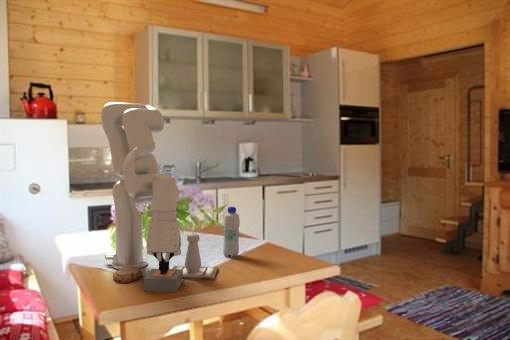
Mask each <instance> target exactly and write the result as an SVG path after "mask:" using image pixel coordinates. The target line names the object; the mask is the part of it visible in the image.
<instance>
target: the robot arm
mask: <svg viewBox="0 0 510 340" xmlns="http://www.w3.org/2000/svg"><path fill="white" fill-rule="evenodd" d="M100 115H101V116H100V119H101V125H102V129H103V131H104V133H105V135H106V138H107V140H108V144H109V150H110V157H111V162H112V163H111V165H112V169H113V172H114V174H115V175H116V176H118V177H122V179H121V180H118V181H117V182H115V183H114V185H113V187H112V198H113V199H112V200H113V203H114V204H113V205H114V214H115V252H114V253H112V252H109V253H108V252H106V253H105V254H104V258H105V261H106V260H108V261H109V260H110V261H111V260H112V262H111V264H110V265H111V268H114V269H116V270H120V269H123V268H124V269H125V268H130V267H132V268H137V269H140V268H143V267H146V266H147V265H148V261H147V259H146V258H144V253H143V252H144V251H143V250H144V246H143V245H144V241H143V239H144V238H143V237H144V235H143V233H144V232H143V230H144V228H143V222H144V221H143V215H142V213H141V212H140V210H139V208H137V206H139V205H142V206H143V205H151V210H150V211H147V213H146V215H147V217H150V218H151V219H149V221H148V224H147V230H146V231H147V232H146V233H147V234H146V244H145V245H146V254H147V255H149V256H153V257H154V258H155V259H156V260H157V261H158V269H159V271H160V274H166V273H167V272H168V271H169V269H170V260H171V259H172V258H173V257H178V256H181V255H182V250H181V247H182V246H181V244H182V239H181V238H182V237H181V227H180V223H179V219H178V218H177V179H176V178H175V177H173V176H169V175H167V174H164V173H159V168H158V163H157V159H156V157H155V155H154V154H153V152H154V151H155V148H156V143H155V140H154V136H153V133H154V134H158V133H161V132H163V130H164V128H165V119H164V116H163V114H162V112H161V111H160V110H158V109H157V108H155V107H153V106H152V105H149V104H146V103H145V104H143V103H132V102H108V103H106V104H105V105H103V107H102V109H101V113H100ZM164 254H165V257H164Z"/></svg>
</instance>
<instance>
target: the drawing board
mask: <svg viewBox="0 0 510 340" xmlns="http://www.w3.org/2000/svg"><path fill="white" fill-rule="evenodd" d="M171 269H183V280H196V281H197V280H199V281H215V278H216V275H217V273H218V271H219V266H201V267H200V269H199V271H198V272H197V273H188V272H187V270H186V267H185V265H174V266H173V267H172V268H171Z"/></svg>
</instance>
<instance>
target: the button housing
mask: <svg viewBox="0 0 510 340" xmlns="http://www.w3.org/2000/svg"><path fill="white" fill-rule="evenodd" d="M157 270H159V268H152V269H151V270H150V271H149V272H148V273H147V274H146V275H145V277H144V278H143V292H161V293H162V292H164V293H165V292H167V293H177V292H178V291H179V288H180V286H182V284H183V282H184V279H183V269H172V268H169V270H176V272H175V274H174V275H173V277H152V275H153V274H154V273H155V272H156V271H157Z"/></svg>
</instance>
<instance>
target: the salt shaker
mask: <svg viewBox="0 0 510 340" xmlns="http://www.w3.org/2000/svg"><path fill="white" fill-rule="evenodd" d="M200 238H201V237H200V235H199V234H198V233H189V234H187V236H186V241H187V242H188V244H187V250H186V254H185V260H184V266H185V267H186V270H187V272H188V273H197V272H198V271H199V269H200V267H202V260H201V255H200V254H201V253H200V249H199V248H200V247H199V242H200Z"/></svg>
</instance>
